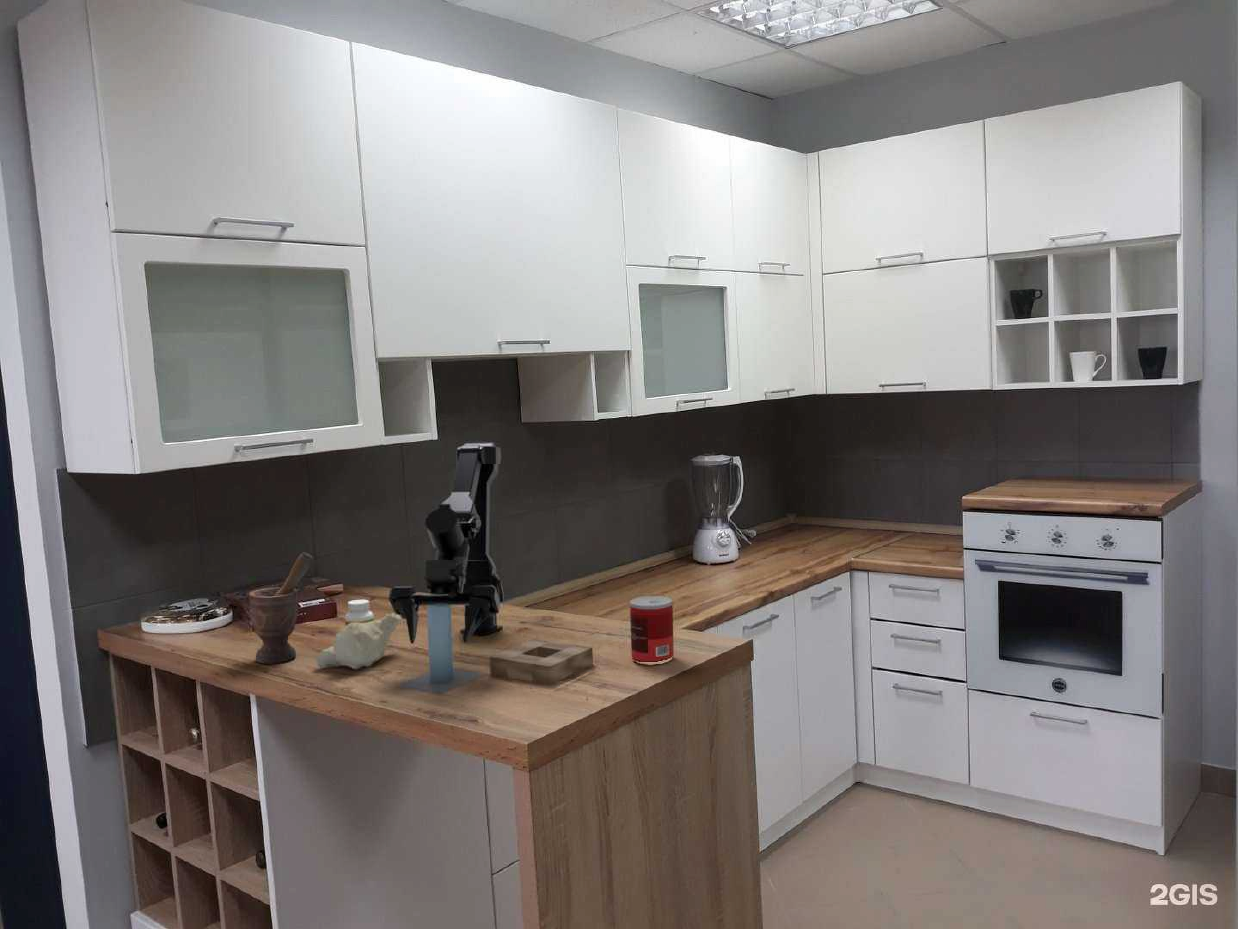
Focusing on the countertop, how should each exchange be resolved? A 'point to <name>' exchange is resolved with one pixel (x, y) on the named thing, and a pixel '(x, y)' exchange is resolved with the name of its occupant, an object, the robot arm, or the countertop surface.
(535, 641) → the block
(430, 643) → the light blue cylinder
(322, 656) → the cream lumpy knobby chunk
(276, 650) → the mortar and pestle
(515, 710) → the countertop surface
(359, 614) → the supplement bottle
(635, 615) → the canned food
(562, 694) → the countertop surface
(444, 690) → the mat
